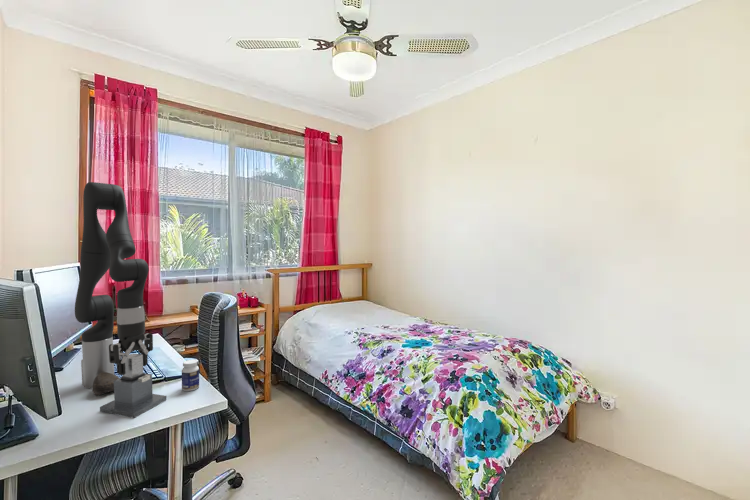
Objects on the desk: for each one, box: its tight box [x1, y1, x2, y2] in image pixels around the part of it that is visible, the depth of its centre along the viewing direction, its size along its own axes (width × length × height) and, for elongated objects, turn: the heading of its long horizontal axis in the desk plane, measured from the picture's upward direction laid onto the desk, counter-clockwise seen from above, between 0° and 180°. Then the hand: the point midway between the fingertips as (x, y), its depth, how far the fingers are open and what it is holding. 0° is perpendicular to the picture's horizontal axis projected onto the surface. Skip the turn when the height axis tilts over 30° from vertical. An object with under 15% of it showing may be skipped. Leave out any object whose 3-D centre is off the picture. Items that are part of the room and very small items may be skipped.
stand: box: [99, 373, 167, 418], centre depth 120 cm, size 14×12×10 cm
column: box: [120, 352, 146, 382], centre depth 119 cm, size 5×5×15 cm
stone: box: [91, 372, 120, 396], centre depth 130 cm, size 10×8×10 cm
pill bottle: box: [181, 359, 200, 392], centre depth 133 cm, size 6×6×10 cm
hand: (132, 369), depth 119 cm, fingers open, 7 cm apart
